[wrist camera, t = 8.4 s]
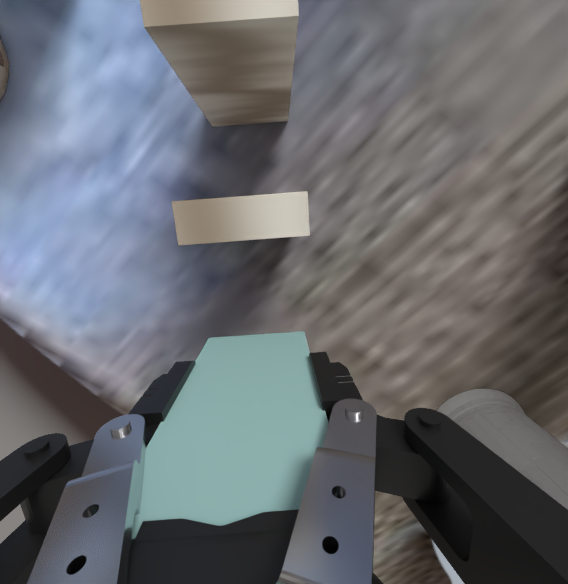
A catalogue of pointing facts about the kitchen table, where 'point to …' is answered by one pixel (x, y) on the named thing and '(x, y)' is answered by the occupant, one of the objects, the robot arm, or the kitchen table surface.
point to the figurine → (3, 70)
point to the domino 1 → (229, 54)
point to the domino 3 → (236, 434)
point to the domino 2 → (241, 218)
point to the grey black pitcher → (512, 438)
